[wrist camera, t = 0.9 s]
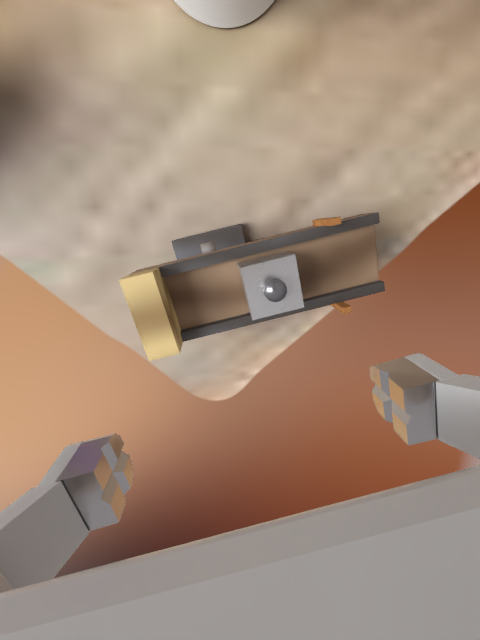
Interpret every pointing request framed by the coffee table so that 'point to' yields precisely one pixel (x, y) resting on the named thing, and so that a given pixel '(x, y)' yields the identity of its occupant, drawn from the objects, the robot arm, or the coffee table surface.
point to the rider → (271, 284)
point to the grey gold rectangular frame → (226, 287)
